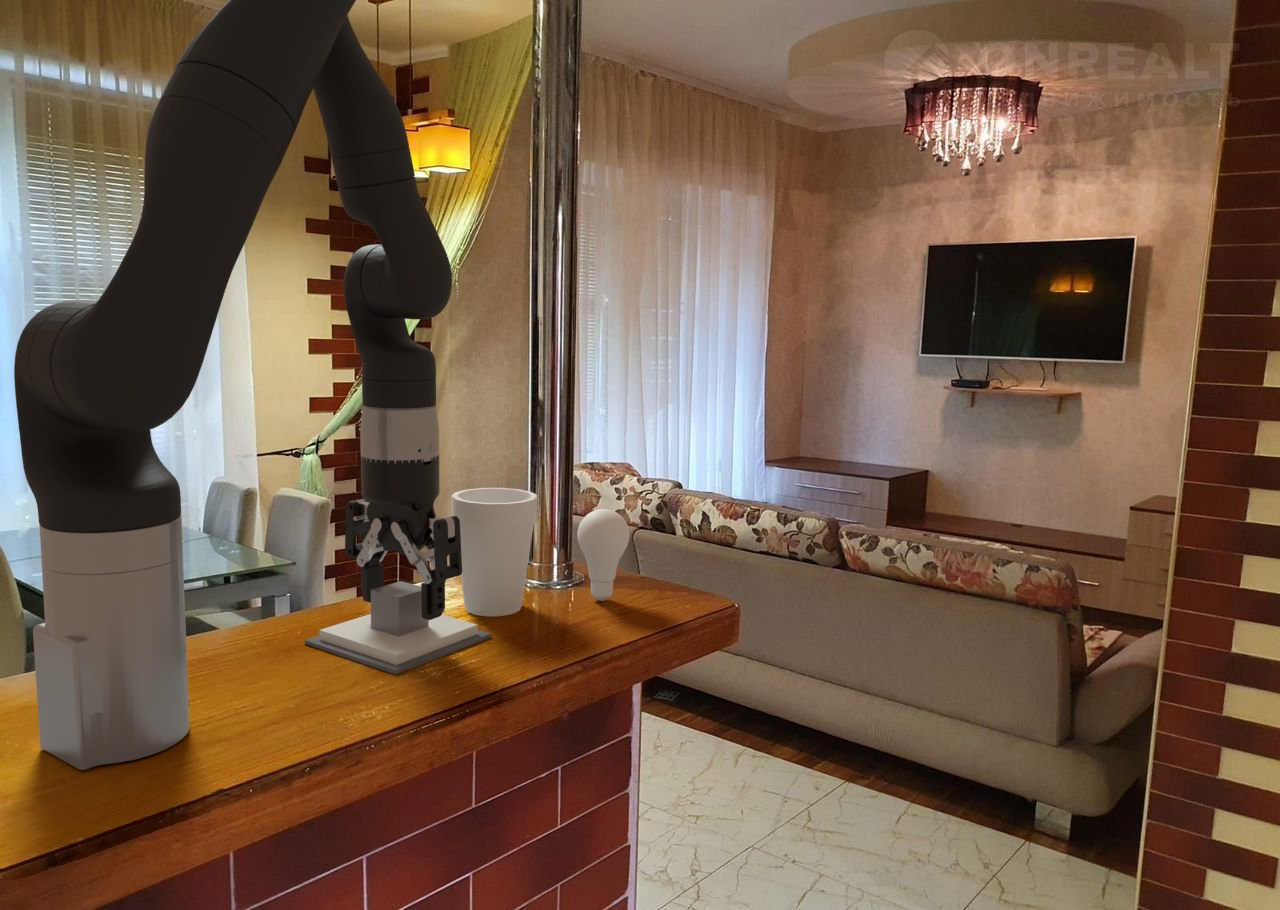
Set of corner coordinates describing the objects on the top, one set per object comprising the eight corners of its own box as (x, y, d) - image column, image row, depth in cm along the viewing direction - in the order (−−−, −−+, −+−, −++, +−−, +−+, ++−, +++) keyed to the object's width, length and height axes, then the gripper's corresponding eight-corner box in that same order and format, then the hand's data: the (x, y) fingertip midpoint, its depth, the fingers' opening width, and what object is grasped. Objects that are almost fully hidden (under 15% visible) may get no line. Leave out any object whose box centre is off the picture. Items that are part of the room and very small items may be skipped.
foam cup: (528, 622, 102) (530, 505, 100) (443, 619, 103) (443, 502, 101) (539, 596, 112) (541, 489, 110) (461, 593, 112) (462, 486, 110)
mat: (395, 674, 87) (395, 670, 87) (304, 643, 94) (304, 640, 94) (491, 637, 97) (491, 633, 97) (403, 612, 104) (403, 608, 104)
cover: (396, 664, 88) (396, 613, 87) (319, 639, 94) (318, 591, 93) (477, 634, 97) (478, 587, 96) (403, 612, 103) (402, 568, 102)
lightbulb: (566, 603, 110) (568, 510, 108) (591, 590, 115) (593, 502, 114) (612, 611, 107) (615, 517, 106) (636, 598, 113) (639, 508, 111)
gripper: (321, 447, 93) (325, 604, 96) (423, 464, 86) (425, 634, 88) (380, 439, 100) (382, 587, 102) (480, 454, 92) (480, 613, 95)
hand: (402, 608), depth 95 cm, fingers open, 8 cm apart
